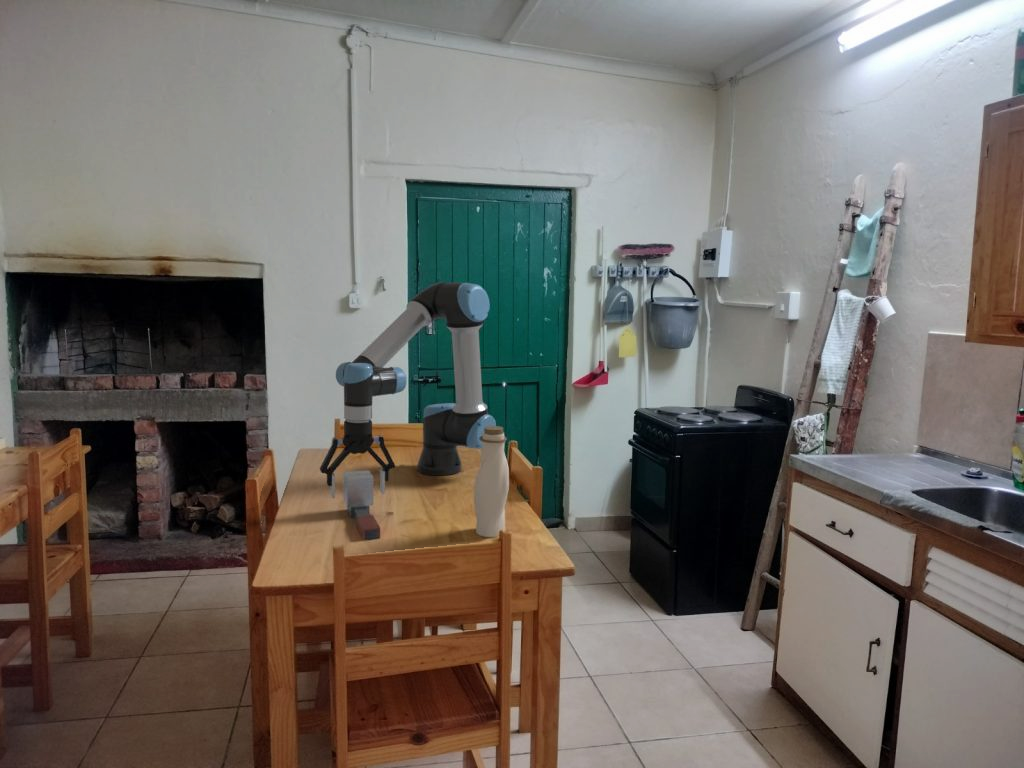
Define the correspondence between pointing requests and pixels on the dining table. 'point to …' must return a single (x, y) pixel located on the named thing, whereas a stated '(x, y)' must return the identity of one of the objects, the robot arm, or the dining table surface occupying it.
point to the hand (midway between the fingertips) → (358, 494)
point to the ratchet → (365, 522)
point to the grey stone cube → (358, 488)
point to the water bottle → (491, 483)
